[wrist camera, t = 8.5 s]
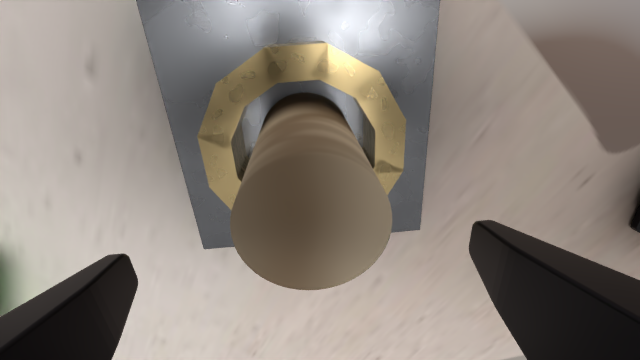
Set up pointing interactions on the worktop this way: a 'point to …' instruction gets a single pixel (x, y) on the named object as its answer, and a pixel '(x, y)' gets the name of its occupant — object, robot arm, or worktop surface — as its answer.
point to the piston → (309, 199)
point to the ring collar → (293, 87)
